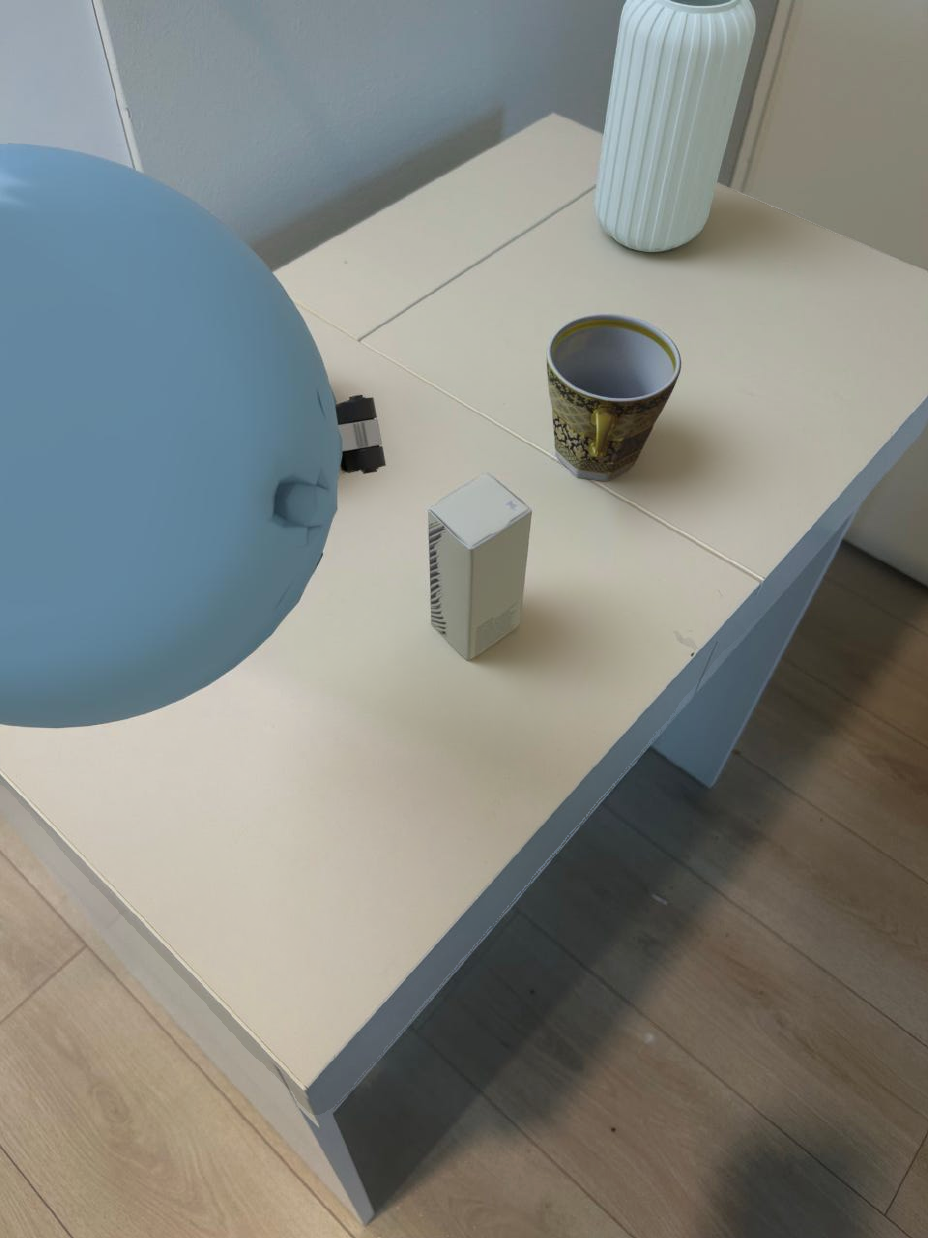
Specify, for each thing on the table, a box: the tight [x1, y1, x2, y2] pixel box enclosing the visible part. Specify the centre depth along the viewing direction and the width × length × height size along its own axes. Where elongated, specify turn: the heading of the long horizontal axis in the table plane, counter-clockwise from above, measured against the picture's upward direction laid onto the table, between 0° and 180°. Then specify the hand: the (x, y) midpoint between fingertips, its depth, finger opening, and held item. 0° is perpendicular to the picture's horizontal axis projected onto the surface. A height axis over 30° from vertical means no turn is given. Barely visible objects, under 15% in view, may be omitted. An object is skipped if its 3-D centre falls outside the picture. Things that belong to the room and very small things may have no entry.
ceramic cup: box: [546, 313, 682, 482], centre depth 73 cm, size 13×10×10 cm
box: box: [427, 472, 533, 661], centre depth 63 cm, size 5×4×13 cm
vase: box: [593, 0, 757, 253], centre depth 88 cm, size 12×12×22 cm
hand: (212, 467), depth 48 cm, fingers closed on pill bottle, 6 cm apart
